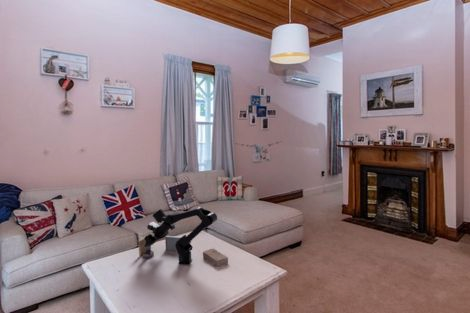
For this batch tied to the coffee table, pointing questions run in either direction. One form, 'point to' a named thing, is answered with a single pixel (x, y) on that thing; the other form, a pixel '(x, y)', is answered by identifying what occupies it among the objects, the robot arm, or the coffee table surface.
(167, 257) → the coffee table surface
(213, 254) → the brick
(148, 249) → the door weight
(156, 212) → the robot arm
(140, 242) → the door
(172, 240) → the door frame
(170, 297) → the coffee table surface
